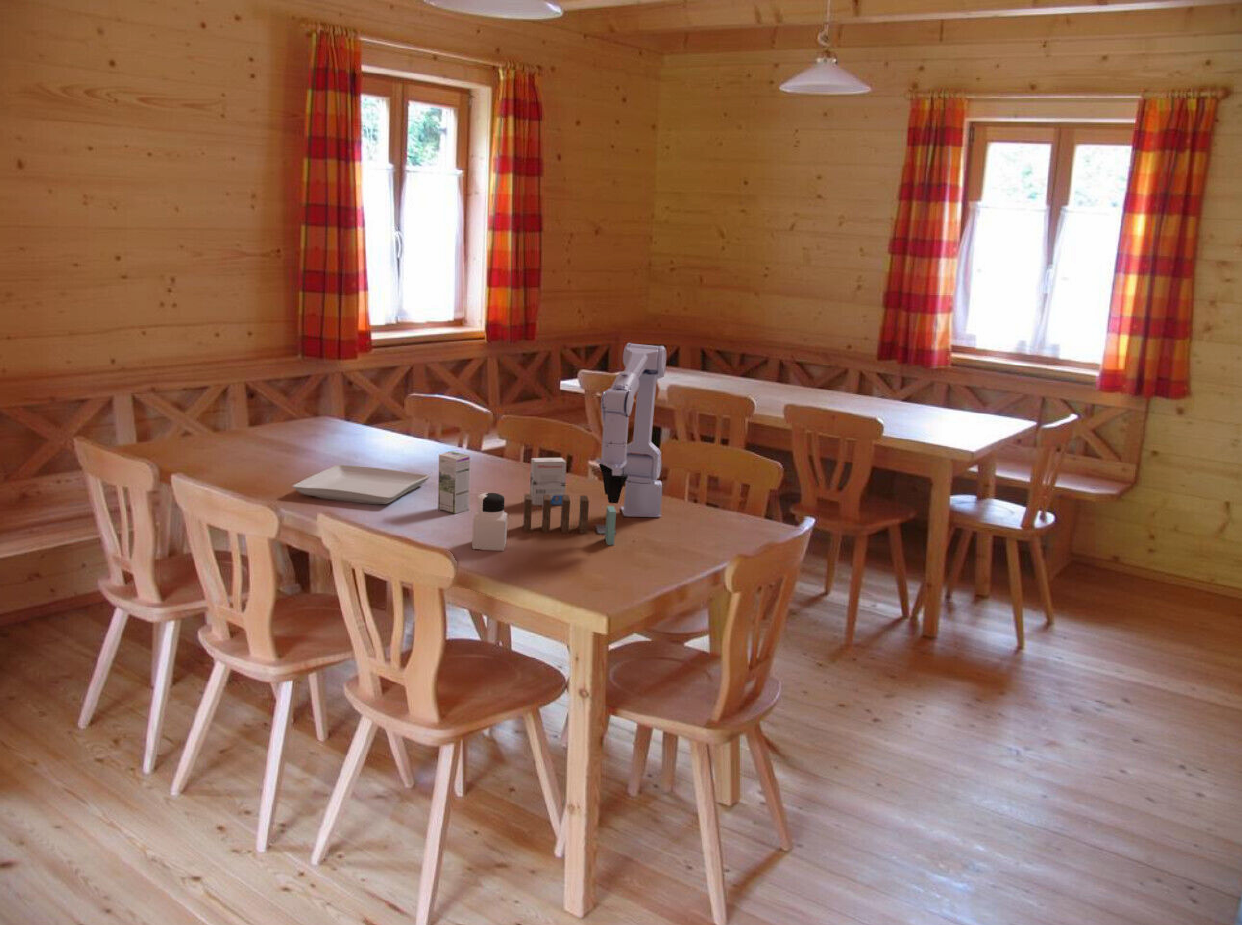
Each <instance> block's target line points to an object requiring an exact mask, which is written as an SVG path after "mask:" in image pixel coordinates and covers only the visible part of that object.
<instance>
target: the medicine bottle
mask: <svg viewBox="0 0 1242 925" xmlns="http://www.w3.org/2000/svg"><path fill="white" fill-rule="evenodd" d="M476 502H477V504H476V506H477V508H476V509H477V510H476V512H475V514H474V517H473V519H472V520H473V521H472V546H471V548H473V549H472V550H474V549H481V550H480V551H496V552H497V551H498V552H499V551H500V552H501V551H504V550H505V548H506V544H507V531H508V527H507V526H508V513H507V511H506V512H505V497H504V495H501V494H499V493H497V492H484V493H481V494H479V495H478V496H477V501H476Z"/></svg>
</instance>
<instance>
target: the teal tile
mask: <svg viewBox="0 0 1242 925" xmlns="http://www.w3.org/2000/svg"><path fill="white" fill-rule="evenodd" d="M605 514H606V516H605V518H606V519H605V525H606V531H605V535H604V539H605V543H606V545H607V546H615V539H616V538H615V537H616V535H615V531H616V521H617V520H616V518H617V510H616V508H615V506H613V505H607V506H606V513H605Z"/></svg>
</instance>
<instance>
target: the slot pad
mask: <svg viewBox="0 0 1242 925" xmlns="http://www.w3.org/2000/svg"><path fill="white" fill-rule="evenodd" d="M594 527H595V529H596V530H595V531H596V533H597V535H604V536H605V531H606V524H594ZM616 535H617V531H616V530H615V536H616Z"/></svg>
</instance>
